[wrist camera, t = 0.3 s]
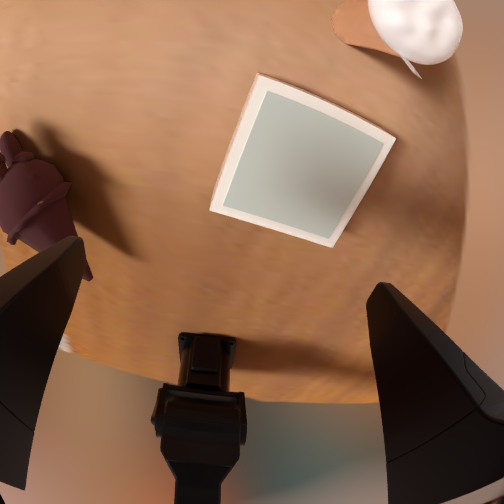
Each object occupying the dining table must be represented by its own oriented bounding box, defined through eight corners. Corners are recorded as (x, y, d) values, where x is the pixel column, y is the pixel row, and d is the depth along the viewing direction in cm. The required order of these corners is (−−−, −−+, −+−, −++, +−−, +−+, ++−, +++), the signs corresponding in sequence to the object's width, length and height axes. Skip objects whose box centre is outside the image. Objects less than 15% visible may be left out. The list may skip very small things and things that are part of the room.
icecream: (114, 281, 18) (-5, 103, 11) (52, 324, 18) (-56, 176, 11) (130, 239, 24) (40, 102, 17) (75, 278, 24) (-10, 157, 17)
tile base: (323, 224, 23) (332, 249, 21) (213, 189, 21) (209, 211, 19) (377, 125, 18) (397, 139, 15) (257, 72, 16) (259, 75, 13)
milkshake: (305, 46, 15) (363, 40, 7) (336, -17, 12) (412, -61, 4) (366, 77, 16) (458, 109, 8) (395, 17, 13) (498, 15, 5)
